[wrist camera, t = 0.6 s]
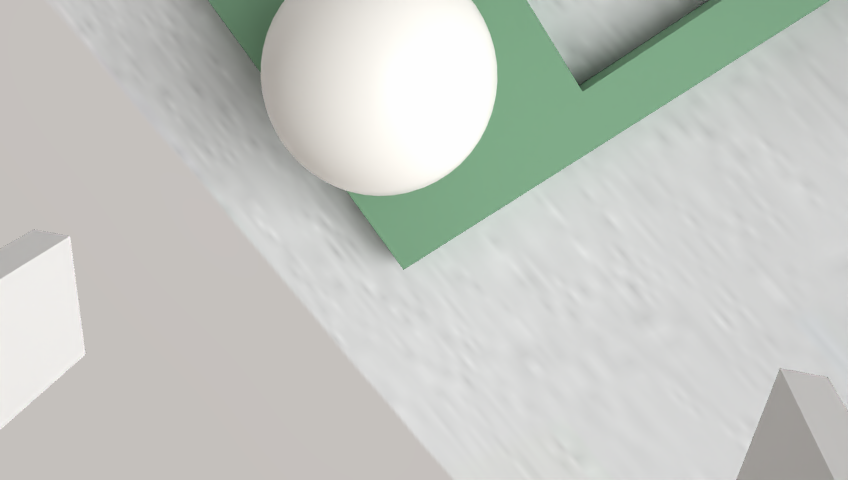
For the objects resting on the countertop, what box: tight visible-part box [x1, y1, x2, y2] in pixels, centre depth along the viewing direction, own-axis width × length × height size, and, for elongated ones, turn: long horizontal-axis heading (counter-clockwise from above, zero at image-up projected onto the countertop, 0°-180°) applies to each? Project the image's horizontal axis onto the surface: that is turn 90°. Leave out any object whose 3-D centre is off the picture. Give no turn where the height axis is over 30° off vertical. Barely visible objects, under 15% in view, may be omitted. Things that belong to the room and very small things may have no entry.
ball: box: [261, 0, 497, 196], centre depth 27 cm, size 9×9×9 cm
